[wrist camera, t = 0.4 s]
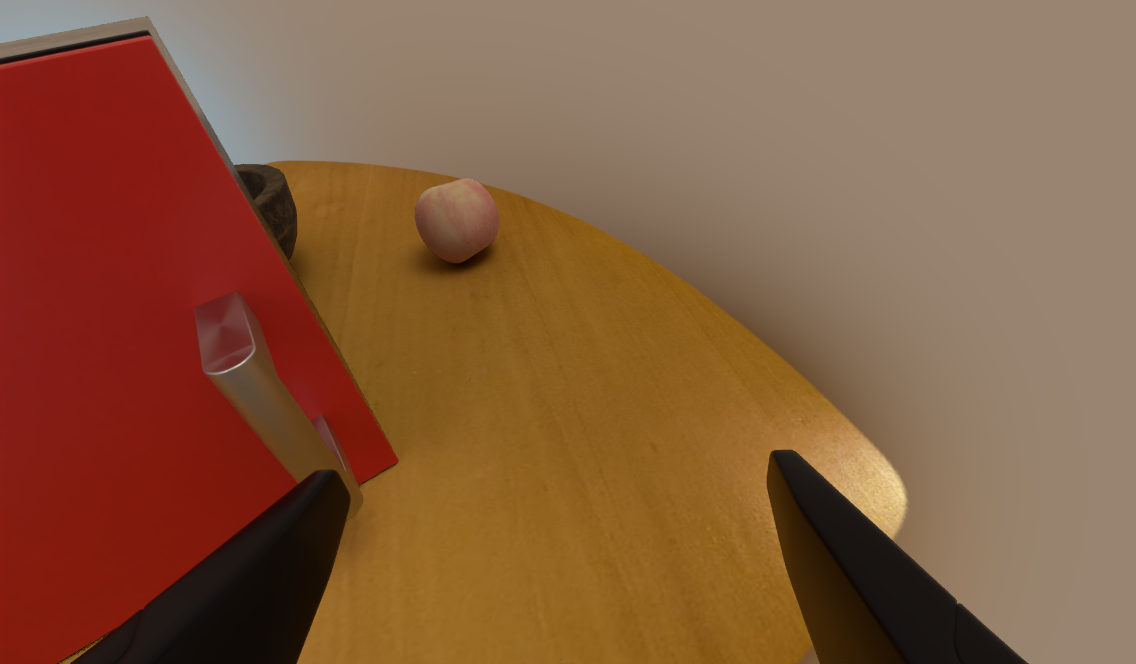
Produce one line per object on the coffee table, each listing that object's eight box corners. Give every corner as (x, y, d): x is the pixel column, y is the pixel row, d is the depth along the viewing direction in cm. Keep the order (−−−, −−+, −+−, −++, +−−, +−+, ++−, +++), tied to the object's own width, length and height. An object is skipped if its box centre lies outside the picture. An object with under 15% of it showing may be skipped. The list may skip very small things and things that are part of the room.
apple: (509, 234, 53) (492, 161, 48) (501, 272, 48) (481, 194, 43) (439, 242, 54) (415, 171, 49) (422, 281, 48) (393, 205, 43)
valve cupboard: (393, 450, 32) (147, 29, 17) (-144, 761, 22) (-1850, 418, 7) (326, 326, 44) (148, 16, 29) (-41, 493, 35) (-597, 154, 19)
